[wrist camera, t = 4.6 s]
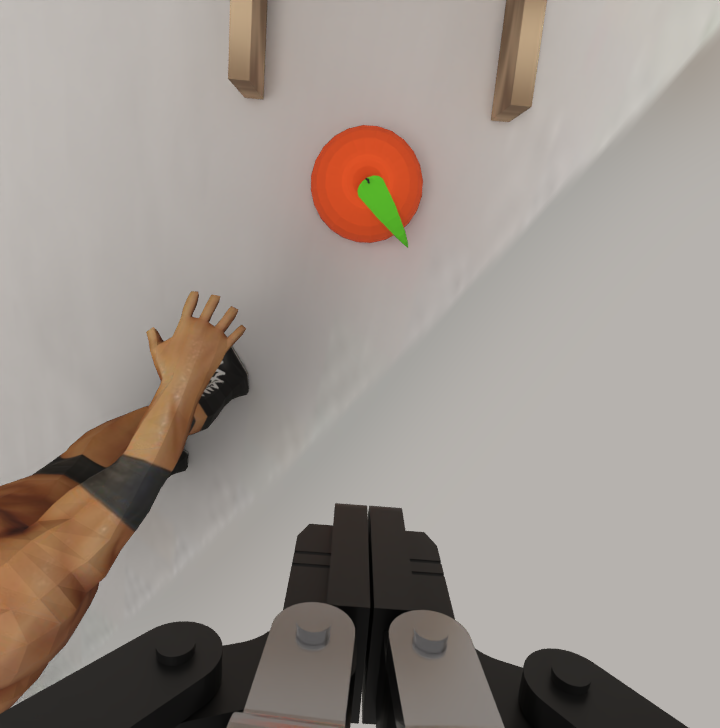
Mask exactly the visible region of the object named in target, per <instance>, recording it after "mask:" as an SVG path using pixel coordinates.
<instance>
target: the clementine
mask: <svg viewBox="0 0 720 728" xmlns="http://www.w3.org/2000/svg"><path fill="white" fill-rule="evenodd" d="M422 185H423V179H422V174H421V168H420V164H419V162H418V160H417V158H416V156H415V154H414V151H413V150H412V149H411V148H410V146H409V145H408V144H407V143H406V142H405V140H404V139H402V138H401V137H399V136H398V135H397V134H395V133H394V132H392V131H390V130H387V129H384V128H381V127H378V126H366V125H362V126H358V127H353V128H349V129H347V130H345V131H343V132H341V133H339V134H338V135H336V136H334V137H333V138H332V139H331V140H330V141H329V142H328V143H327V144H326V145H325V146H324V147H323V149H322V150H321V152H320V154H319V156H318V157H317V159H316V161H315V164H314V168H313V171H312V175H311V192H312V197H313V201H314V205H315V207H316V209H317V211H318V213H319V215H320V217H321V219H322V220H323V221H324V222H325V223H326V224H327V226H328V227H329V228H330V229H331V230H333V231H334V232H336V233H337V234H339V235H340V236H342V237H343V238H346V239H349V240H352V241H355V242H367V243H372V242H377V241H381V240H385V239H387V238H389V237H391V236H393V235H394V236H395V237H396V238H397V239H398V240H400V241H401V242H402V243H403V244H404V245H405V246H406V247H407V248H408V242H407V237H406V233H405V230H404V227H405V226H406V225H407V224H408V223H409V222H410V220H411V219H412V217H413V216H414V214H415V213H416V211H417V209H418V206H419V203H420V200H421V197H422Z"/></svg>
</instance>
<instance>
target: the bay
mask: <svg viewBox="0 0 720 728" xmlns="http://www.w3.org/2000/svg"><path fill="white" fill-rule="evenodd" d="M546 3H547V0H506V7H505V15H504V23H503V31H502V38H501V46H500V54H499V61H498V69H497V77H496V84H495V92H494V100H493V108H492V115H491V120H492V121H503V122H510V121H511V120H513V119H514V118H516V117H517V116H519V115H520V114H522V113H523V112H525V111H526V110H527V109H529V108H530V107H531V106H532V99H533V92H534V85H535V79H536V72H537V65H538V58H539V51H540V44H541V37H542V30H543V23H544V16H545V9H546ZM266 23H267V0H230V29H229V66H228V79H229V80H230V81H231V82H232V84H233V85H234V86H235V87H236V88H237V89H238V90H239V91H240V93H241V94H242V95H243V96H244V97H245V98H254V99H263V96H264V72H265V47H266Z"/></svg>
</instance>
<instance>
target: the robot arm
mask: <svg viewBox="0 0 720 728" xmlns="http://www.w3.org/2000/svg"><path fill="white" fill-rule="evenodd" d="M361 694H362V723H363V724H376V728H688V727H687V726H685V725H684V724H682V723H681V722H679V721H678V720H676V719H675V718H673V717H672V716H671V715H669V714H668V713H666V712H664V711H663V710H662V709H660V708H659V707H657V706H656V705H654V704H653V703H651V702H650V701H649V700H647V699H646V698H644V697H643V696H641V695H640V694H638V693H637V692H635V691H634V690H632V689H631V688H629V687H628V686H626V685H625V684H624V683H622V682H621V681H619V680H618V679H616V678H615V677H613V676H612V675H610V674H609V673H608V672H606V671H605V670H603V669H602V668H600V667H599V666H597V665H596V664H594V663H593V662H591V661H590V660H588V659H586V658H584V657H582V656H580V655H578V654H575V653H572V652H569V651H566V650H561V649H541V650H538V651H535V652H533V653H532V654H531V655H529V656H528V657H527V659H526V660H525V663H524V667H523V668H522V667H518V666H515V665H512V664H509V663H506V662H503V661H499V660H497V659H494V658H491V657H489V656H487V655H485V654H483V653H481V652H480V651H478V650H476V649H475V647H474V645H473V643H472V640H471V637H470V635H469V633H468V632H467V630H466V629H465V628H464V627H463V626H462V625H461V624H460V623H459V622H457V621H456V620H455V618H454V614H453V610H452V605H451V601H450V597H449V593H448V589H447V585H446V581H445V577H444V573H443V569H442V565H441V561H440V556H439V553H438V548H437V546H436V545H435V543H434V542H433V541H432V540H431V539H430V538H429V537H428V536H427V535H426V534H425V533H424V532H414V531H405V526H404V520H403V513H402V508H391V507H379V506H369V511H368V519H367V506H364V505H350V504H338V503H336V504H335V511H334V523H333V526H330V525H318V524H309V525H308V526H307V527H306V528H305V529H304V530H303V531H302V532H301V533H300V534H299V535H298V536H297V541H296V546H295V553H294V557H293V562H292V567H291V572H290V578H289V582H288V588H287V593H286V598H285V603H284V608H283V611H282V612H281V613H279V614H278V615H277V616H276V618H275V619H274V621H273V623H272V627H271V629H270V631H269V632H267V633H265V634H264V635H262V636H260V637H258V638H255V639H253V640H250V641H246V642H241V643H236V644H230V645H224V646H222V642H221V639H220V637H219V636H218V634H217V633H216V632H215V631H214V630H213V629H211V628H209V627H208V626H205V625H203V624H199V623H195V622H173V623H168V624H164V625H161V626H158V627H156V628H154V629H152V630H150V631H148V632H146V633H145V634H143V635H141V636H139V637H137V638H136V639H134V640H132V641H130V642H128V643H126V644H125V645H123V646H121V647H119V648H117V649H116V650H114V651H112V652H110V653H109V654H107V655H105V656H103V657H101V658H99V659H98V660H96V661H94V662H92V663H91V664H89V665H87V666H85V667H83V668H82V669H80V670H78V671H76V672H74V673H73V674H71V675H69V676H67V677H65V678H64V679H62V680H60V681H58V682H56V683H55V684H53V685H51V686H49V687H47V688H46V689H44V690H42V691H40V692H38V693H37V694H35V695H33V696H31V697H29V698H28V699H26V700H24V701H22V702H21V703H19V704H17V705H15V706H13V707H12V708H10V709H8V710H6V711H4V712H3V713H1V714H0V728H350V723H359V714H360V703H361Z"/></svg>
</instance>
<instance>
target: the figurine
mask: <svg viewBox="0 0 720 728" xmlns="http://www.w3.org/2000/svg"><path fill="white" fill-rule="evenodd" d="M198 297H199V294H198V292H194V291H191V293H190V294H189V296H188V298H187V300H186V303H185V305H184V308H183V311H182V316H181V319H180V321H179V324H178V326H177V328H176V330H175V332H174V335H173V337H171V338H170V339H168V340H166V341H163V340H162V338H161V336H160V334H159V333H158V331H157V330H156V329H155V328H154V327H153V328H151V329H150V330H149V331H147V332H146V333H147V336H148V340H149V347H150V352H151V355H152V358H153V361H154V365H155V367H156V370H157V372H158V375H159V377H160V379H161V384H160V386H159V388H158V390H157V392H156V394H155V396H154V398H153V400H152V402H151V404H150V405H149V406H146V407H143V408H140V409H138V410H135V411H133V412H130V413H128V414H125V415H123V416H120V417H118V418H115V419H112V420H110V421H107V422H105V423H103V424H101V425H99V426H98V427H96V428H94V429H92V430H90V431H88V432H86V433H85V434H84V435H83V436H82V437H80V438H79V439H78V440H77V441H76V442H74V443H73V444H72V445H71V446H70V447H69V448H68V450H67V451H66V452H64V453H63V454H62V455H60V456H59V457H57V458H56V459H55V460H53V461H52V462H50V463H49V464H48V465H46V466H45V467H43V468H42V469H40V470H39V471H37V472H36V473H35V474H33V475H32V476H29V477H26V478H23V479H20V480H17V481H14V482H11V483H8V484H5V485H2V486H0V714H1V713H3V712H4V711H6V710H8V709H9V708H10V707H11V706H12V705H13V704H14V703H15V702H16V701H17V700H18V699H19V698H20V697H21V696H22V695H23V694H24V692H25V691H26V690H27V689H28V688H29V687H30V686H31V685H32V684H33V683H34V682H35V681H36V680H37V679H38V678H39V676H40V675H41V673H42V672H43V671H44V669H45V668H46V666H47V665H48V663H49V661H51V660H52V659H53V658H54V657H55V656H56V654H57V653H58V652H59V651H60V650H61V649H62V648H63V647H64V646H65V645H66V643H67V642H68V640H69V639H70V637H71V636H72V634H73V633H74V631H75V629H76V628H77V626H78V624H79V623H80V621H81V619H82V618H83V616H84V614H85V613H86V611H87V609H88V608H89V606H90V604H91V602H92V600H93V598H94V596H95V594H96V592H97V590H98V586H99V582H100V581H101V580H102V579H103V578H105V577H106V575H107V573H108V571H109V570H110V568H111V566H112V565H113V563H114V561H115V559H116V558H117V556H118V554H119V553H120V551H121V549H122V548H123V546H124V545H125V544H126V543H127V541H128V540H129V539H130V537H131V536H132V535H133V533H134V532H135V531H136V530H137V528H138V527H139V525H140V524H141V522H142V521H143V520H144V518H145V517H146V515H147V514H148V512H149V511H150V509H151V507H152V505H153V503H154V501H155V499H156V497H157V495H158V493H159V491H160V489H161V487H162V486H163V484H164V483H165V481H166V480H167V478H168V477H170V476H171V475H173V474H176V473H179V472H182V471H185V470H186V469H187V467H188V463H187V458H188V453H187V452H186V451H184V450H183V449H184V446H185V443H186V440H187V437H188V436H189V435H192V434H195V433H197V432H199V431H202V430H204V429H207V428H208V427H209V426H210V425H211V423H212V422H213V421H214V420H215V419H216V418H217V416H218V415H219V413H220V412H221V410H222V409H223V407H224V406H225V405H226V404H227V403H229V402H230V401H231V400H232V399H234V398H237V397H239V396H242V395H246V394H247V393H248V391H249V385H248V373H247V371H246V370H245V368H244V366H243V365H242V363H241V361H240V360H239V358H238V356H237V354H236V353H235V351H234V349H233V348H232V345H233V344H234V343H235V342H236V341H237V340H238V339H239V338H240V337H241V336H242V335H243V333H244V331H245V330H246V328H245V327H244V326H243V325H241V326H239V327H238V328H237V329H236V330H235V331H234V332H233V333H232V334H231V335H230V336H229V337H228V338H227V336H226V335H225V334H224V332H225V331H226V329H227V328H228V327H229V325H230V324H231V323H232V321H233V320H234V319H235V317H236V315H237V312H238V309H236V308H234V307H232V306H231V307H230V308H229V309H228V311H227V312H226V313H225V315H224V316H223V318H222V319H221V320H220V321H219V322H218V324H217V325H216V326H215V327H214V326H213V325H212V324H210V323H209V321H210V319H211V316H212V314H213V312H214V311H215V309H216V307H217V305H218V303H219V300H220V296H217V295H211V297H210V298H209V300H208V302H207V304H206V306H205V308H204V310H203V312H202V314H201V315H200V317H199V318H194V317H192V314H193V312H194V310H195V308H196V305H197V302H198ZM208 383H209V385H208ZM207 385H208V386H207Z"/></svg>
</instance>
